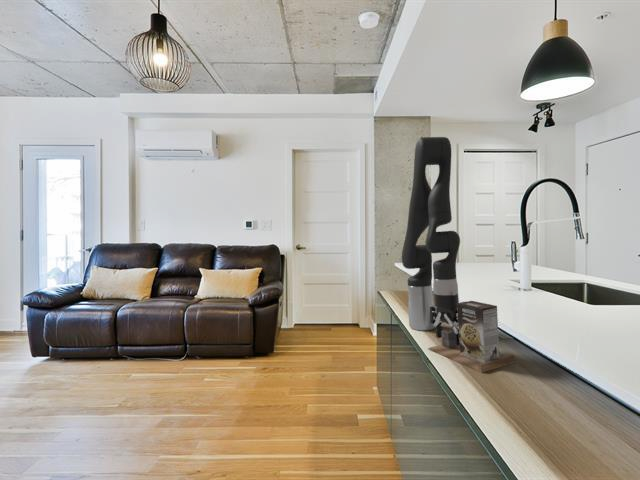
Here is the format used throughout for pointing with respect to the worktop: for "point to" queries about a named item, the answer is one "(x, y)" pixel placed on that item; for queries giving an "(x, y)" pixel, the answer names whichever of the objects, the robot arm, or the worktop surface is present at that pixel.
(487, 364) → the brown wooden flat block
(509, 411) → the worktop surface
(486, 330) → the brown boxy piece
